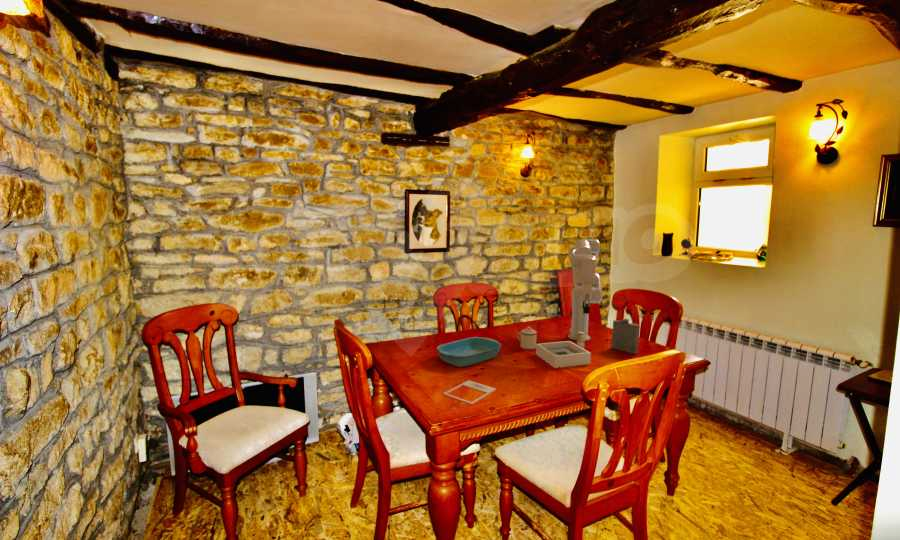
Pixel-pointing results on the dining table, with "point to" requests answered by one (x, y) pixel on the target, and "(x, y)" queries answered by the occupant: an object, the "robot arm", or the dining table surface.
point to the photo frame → (474, 386)
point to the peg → (580, 339)
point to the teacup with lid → (528, 338)
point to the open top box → (563, 354)
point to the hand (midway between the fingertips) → (585, 311)
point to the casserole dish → (468, 351)
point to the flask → (625, 336)
